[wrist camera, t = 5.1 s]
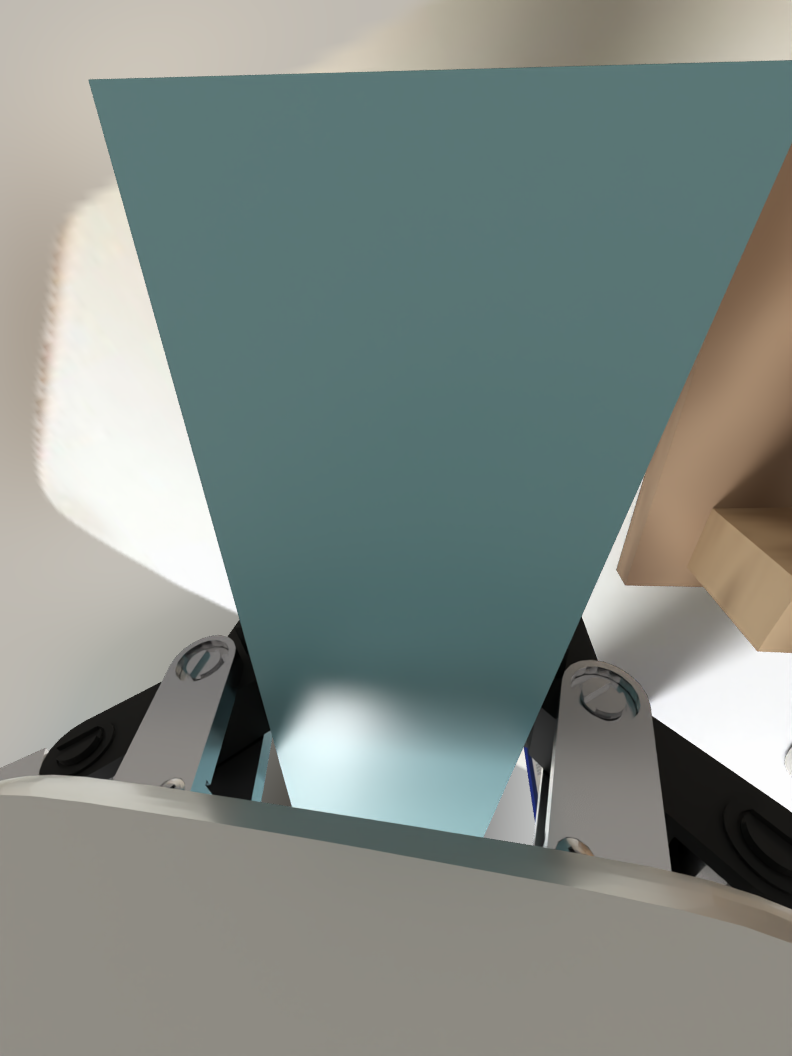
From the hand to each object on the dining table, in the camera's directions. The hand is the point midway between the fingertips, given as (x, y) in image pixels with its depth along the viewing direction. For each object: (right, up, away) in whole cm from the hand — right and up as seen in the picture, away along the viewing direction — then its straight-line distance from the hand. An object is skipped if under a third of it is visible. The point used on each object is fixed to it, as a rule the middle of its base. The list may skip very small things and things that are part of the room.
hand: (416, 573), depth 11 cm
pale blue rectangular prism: (0, +1, +1) cm, 1 cm away
